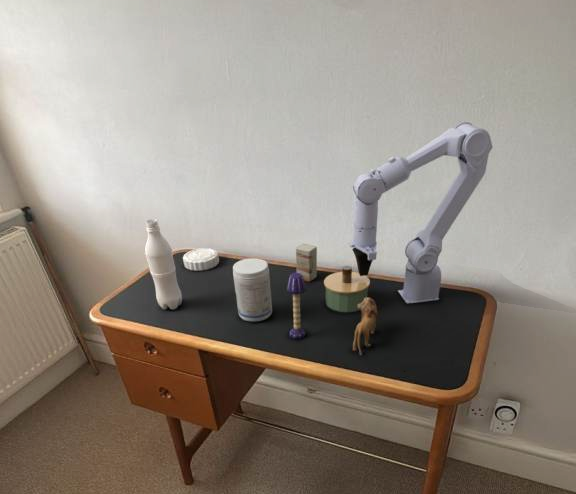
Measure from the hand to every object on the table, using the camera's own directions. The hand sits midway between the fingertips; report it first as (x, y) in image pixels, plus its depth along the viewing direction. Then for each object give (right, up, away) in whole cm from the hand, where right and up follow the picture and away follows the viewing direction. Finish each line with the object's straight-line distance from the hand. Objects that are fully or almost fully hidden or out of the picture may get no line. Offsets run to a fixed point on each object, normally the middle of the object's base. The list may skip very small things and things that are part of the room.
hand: (363, 274), depth 127 cm
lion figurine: (-2, -19, -10) cm, 21 cm away
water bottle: (-55, -7, +10) cm, 56 cm away
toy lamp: (-18, -17, -6) cm, 26 cm away
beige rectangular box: (-15, +3, +19) cm, 24 cm away
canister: (-4, -7, +5) cm, 9 cm away
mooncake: (-50, +11, +32) cm, 61 cm away
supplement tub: (-30, -11, +3) cm, 32 cm away
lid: (-4, -2, +1) cm, 5 cm away
